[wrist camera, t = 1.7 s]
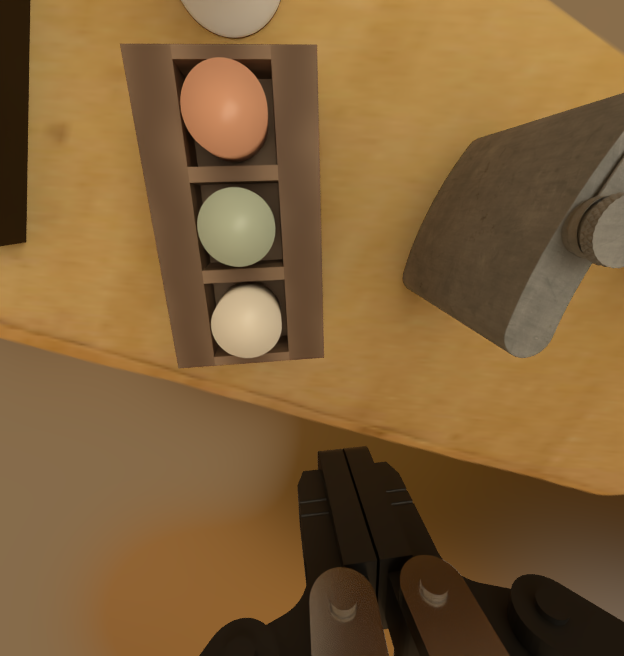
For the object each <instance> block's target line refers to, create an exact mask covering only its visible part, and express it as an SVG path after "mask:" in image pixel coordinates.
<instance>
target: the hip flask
mask: <svg viewBox="0 0 624 656" xmlns="http://www.w3.org/2000/svg"><path fill="white" fill-rule="evenodd" d="M592 263H594V264H596V265H602V266H604V267H611V268H621V267H624V93H622V94H619V95H616V96H612V97H609V98H606V99H603V100H600V101H596V102H593V103H590V104H587V105H584V106H580V107H577V108H574V109H571V110H568V111H564V112H561V113H558V114H555V115H552V116H548V117H545V118H542V119H539V120H536V121H532V122H529V123H526V124H523V125H520V126H517V127H513V128H510V129H507V130H504V131H501V132H497V133H494V134H491V135H488V136H485V137H481V138H478V139H476V140H475V141H473V142H472V143H471V144H470V145H469V147H468V148H467V149H466V151H465V152H464V153H463V155H462V156H461V158H460V159H459V160H458V162H457V163H456V165H455V166H454V168H453V169H452V171H451V172H450V174H449V175H448V177H447V178H446V180H445V182H444V183H443V185H442V187H441V188H440V190H439V192H438V194H437V195H436V197H435V199H434V201H433V203H432V205H431V207H430V209H429V211H428V213H427V215H426V217H425V219H424V221H423V223H422V225H421V227H420V229H419V231H418V234H417V236H416V239H415V241H414V244H413V246H412V249H411V251H410V254H409V257H408V260H407V263H406V266H405V270H404V273H403V283H404V285H405V286H406V287H407V288H408V289H409V290H411V291H413V292H414V293H416V294H417V295H419V296H420V297H422V298H424V299H425V300H427V301H428V302H430V303H431V304H433V305H435V306H436V307H438V308H439V309H441V310H442V311H444V312H446V313H447V314H449V315H450V316H452V317H453V318H455V319H457V320H458V321H460V322H461V323H463V324H464V325H466V326H468V327H469V328H471V329H472V330H474V331H475V332H477V333H478V334H480V335H482V336H483V337H485V338H486V339H488V340H489V341H491V342H493V343H494V344H496V345H497V346H499V347H500V348H502V349H504V350H505V351H507V352H508V353H510V354H511V355H513V356H515V357H519V358H526V357H531V356H534V355H536V354H538V353H539V352H541V351H542V350H543V349H544V348H545V347H546V346H547V345H548V344H549V342H550V341H551V339H552V337H553V335H554V333H555V331H556V328H557V326H558V324H559V322H560V320H561V318H562V316H563V314H564V312H565V310H566V308H567V306H568V304H569V302H570V300H571V298H572V297H573V295H574V293H575V291H576V289H577V288H578V286H579V284H580V282H581V281H582V279H583V277H584V276H585V274H586V272H587V271H588V269H589V267H590V266H591V264H592Z"/></svg>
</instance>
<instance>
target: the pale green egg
mask: <svg viewBox="0 0 624 656" xmlns="http://www.w3.org/2000/svg"><path fill="white" fill-rule="evenodd" d="M197 228H198V234H199V238H200V240H201V243H202V245H203V246H204V248H205V249H206V251H207V252H208V253H209V254H210V255H211V256H212V257H213V258H215V259H216V260H217V261H219V262H221V263H223V264H226V265H229V266H234V267H243V266H248V265H252V264H254V263H256V262H258V261H259V260H261V259H262V258H263V257H264V256H265V255H266V254H267V253H268V252H269V250H270V248H271V247H272V244H273V242H274V238H275V220H274V216H273V213H272V210H271V208H270V207H269V205H268V204H267V202H266V201H265V200H264V199H263V198H261V197H260V196H259V195H257V194H256V193H254V192H252V191H250V190H247V189H244V188H239V187H229V188H224V189H221V190H218V191H216V192H215V193H213V194H212V195H211V196H209V197H208V198H207V199H206V201H205V202H204V203H203V205H202V207H201V209H200V212H199V215H198V220H197Z"/></svg>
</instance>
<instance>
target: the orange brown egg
mask: <svg viewBox="0 0 624 656" xmlns="http://www.w3.org/2000/svg"><path fill="white" fill-rule="evenodd" d="M180 105H181V112H182V117H183V120H184V123H185V125H186V127H187V129H188V131H189V132H190V134H191V135H192V137H193V138H194V139H195V140H196V141H197V142H198V143H199V144H200V145H201V146H202V147H204V148H205V149H206V150H207V151H209V152H210V153H211V154H212V155H214V156H215V157H217V158H219V159H221V160H224V161H227V162H242V161H245V160H248V159H250V158H252V157H253V156H254V155H256V154H257V153H258V152H259V151H260V149H261V148H262V146H263V145H264V143H265V140H266V138H267V133H268V108H267V101H266V96H265V93H264V91H263V88H262V86H261V84H260V82H259V81H258V79H257V78H256V76H255V75H254V74H253V73H252V72H251V71H250V70H249V69H248V68H247V67H245V66H244V65H243V64H241V63H239V62H237V61H235V60H232V59H229V58H223V57H216V58H210V59H207V60H204V61H202V62H200V63H199V64H197V65H196V66H195V67H194V68H193V69H192V70H191V71H190V72H189V74H188V75H187V77H186V79H185V81H184V83H183V87H182V90H181V97H180Z"/></svg>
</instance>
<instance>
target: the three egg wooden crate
mask: <svg viewBox="0 0 624 656" xmlns="http://www.w3.org/2000/svg"><path fill="white" fill-rule="evenodd" d="M120 46H121V52H122V58H123V63H124V69H125V74H126V80H127V85H128V91H129V96H130V102H131V107H132V113H133V118H134V124H135V130H136V135H137V141H138V146H139V152H140V157H141V163H142V168H143V174H144V179H145V185H146V190H147V196H148V202H149V207H150V213H151V218H152V224H153V229H154V235H155V240H156V246H157V251H158V257H159V262H160V268H161V274H162V279H163V285H164V290H165V296H166V301H167V307H168V312H169V318H170V323H171V329H172V334H173V340H174V346H175V351H176V357H177V362H178V368H190V367H203V366H217V365H231V364H244V363H258V362H271V361H285V360H298V359H312V358H324V336H323V292H322V248H321V203H320V159H319V115H318V71H317V45H279V44H120ZM216 57H223V58H229V59H232V60H235V61H237V62H239V63H241V64H243V65H244V66H245V67H247V68H248V69H249V70H250V71H251V72H252V73H253V74H254V75H255V76H256V78H257V79H258V81H259V82H260V84H261V86H262V88H263V91H264V93H265V96H266V101H267V108H268V133H267V138H266V140H265V143H264V145H263V146H262V148H261V149H260V151H259V152H258V153H257V154H256V155H254V156H253V157H252V158H250V159H248V160H245V161H242V162H227V161H224V160H221V159H219V158H217V157H215V156H214V155H212V154H211V153H210V152H209V151H207V150H206V149H205V148H204V147H202V146H201V145H200V144H199V143H198V142H197V141H196V140H195V139H194V138H193V137H192V135H191V134H190V132H189V131H188V129H187V127H186V125H185V123H184V120H183V117H182V112H181V105H180V97H181V90H182V87H183V83H184V81H185V79H186V77H187V75H188V74H189V72H190V71H191V70H192V69H193V68H194V67H195V66H196V65H197V64H199V63H200V62H202V61H204V60H207V59H210V58H216ZM229 187H239V188H244V189H247V190H250V191H252V192H254V193H256V194H257V195H259V196H260V197H261V198H263V199H264V200H265V201H266V202H267V204H268V205H269V207H270V208H271V210H272V213H273V216H274V220H275V238H274V242H273V244H272V247H271V248H270V250H269V252H268V253H267V254H266V255H265V256H264V257H263V258H262V259H261V260H259V261H258V262H256V263H254V264H252V265H248V266H243V267H234V266H229V265H226V264H223V263H221V262H219V261H217V260H216V259H215V258H213V257H212V256H211V255H210V254H209V253H208V252H207V251H206V249H205V248H204V246H203V245H202V243H201V240H200V238H199V234H198V228H197V220H198V215H199V212H200V209H201V207H202V205H203V203H204V202H205V201H206V199H207V198H208V197H209V196H211V195H212V194H213V193H215V192H216V191H218V190H221V189H224V188H229ZM247 281H253V282H258V283H261V284H263V285H265V286H267V287H268V288H269V289H271V290H272V291H273V292H274V294H275V295H276V297H277V298H278V301H279V303H280V308H281V321H282V330H281V334H280V337H279V340H278V341H277V343H276V344H275V346H274V347H273V348H272V349H271V350H270V351H268V352H267V353H265V354H263V355H261V356H258V357H253V358H241V357H237V356H234V355H231V354H229V353H228V352H226V351H225V350H223V349H222V348H221V347H220V346H219V345H218V343H217V342H216V340H215V338H214V336H213V334H212V329H211V319H212V315H213V312H214V310H215V308H216V307H217V305H218V303H219V301H220V299H221V297H222V296H223V294H224V293H225V291H226V290H227V289H229V288H230V287H231V286H233V285H235V284H237V283H240V282H247Z"/></svg>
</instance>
